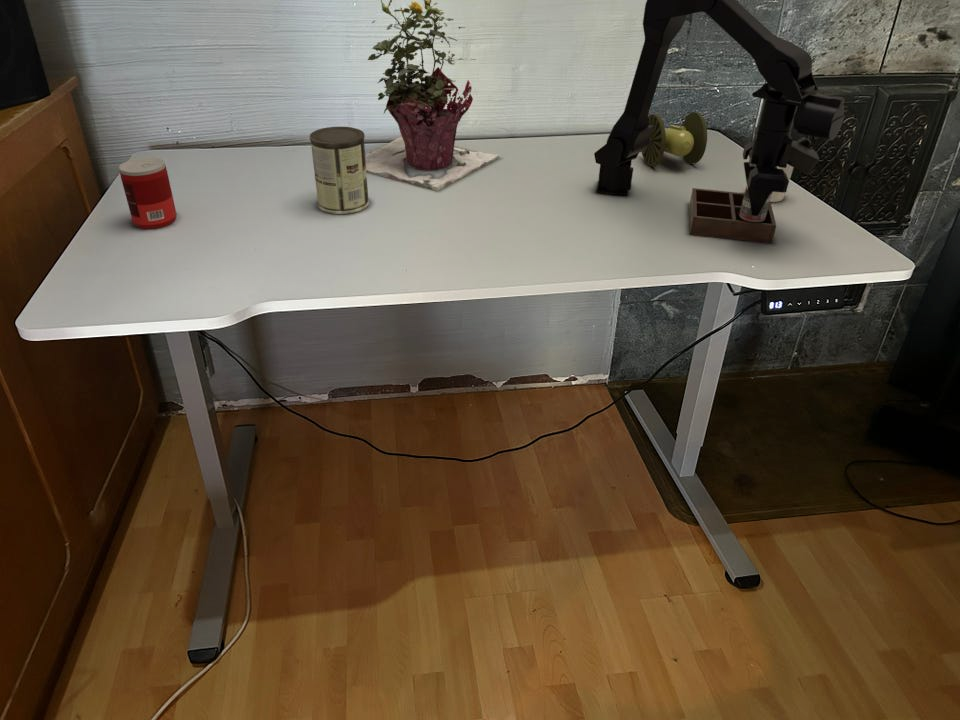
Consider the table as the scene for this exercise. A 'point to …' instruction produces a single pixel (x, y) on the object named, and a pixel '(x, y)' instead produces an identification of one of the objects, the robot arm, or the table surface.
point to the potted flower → (422, 109)
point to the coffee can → (340, 169)
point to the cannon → (677, 139)
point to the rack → (726, 217)
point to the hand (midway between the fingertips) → (753, 210)
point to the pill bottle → (746, 209)
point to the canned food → (148, 192)
